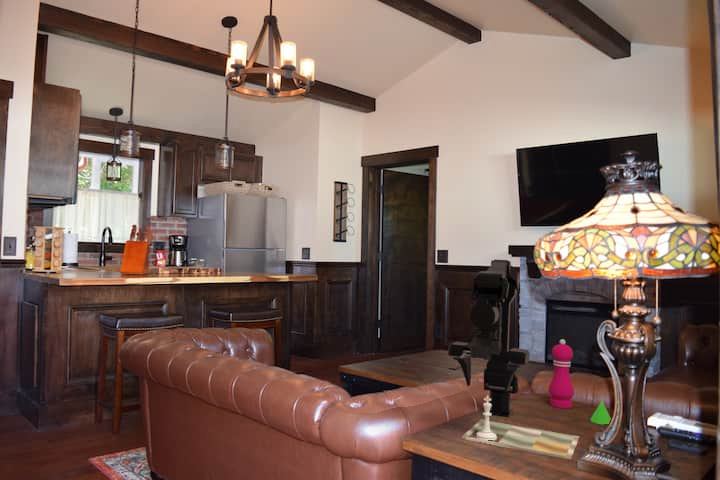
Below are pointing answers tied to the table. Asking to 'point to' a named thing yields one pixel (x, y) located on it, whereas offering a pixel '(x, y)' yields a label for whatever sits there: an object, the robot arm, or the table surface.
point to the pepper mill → (561, 377)
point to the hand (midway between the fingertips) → (487, 388)
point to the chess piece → (486, 423)
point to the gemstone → (601, 415)
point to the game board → (528, 439)
